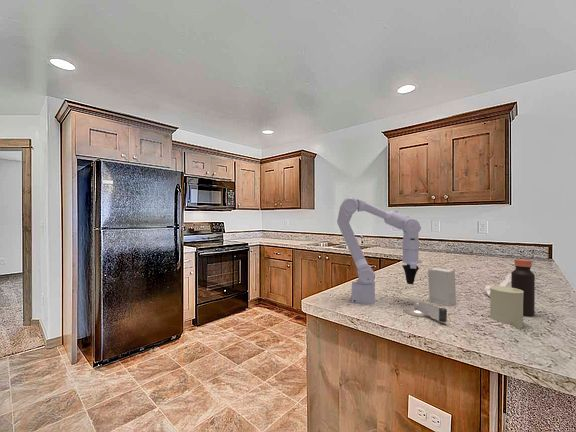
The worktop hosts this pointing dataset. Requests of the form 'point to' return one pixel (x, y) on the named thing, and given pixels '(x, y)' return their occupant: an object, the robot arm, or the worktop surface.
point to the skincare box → (442, 286)
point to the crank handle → (426, 311)
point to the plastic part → (503, 283)
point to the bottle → (524, 284)
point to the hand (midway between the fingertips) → (410, 283)
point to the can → (507, 305)
